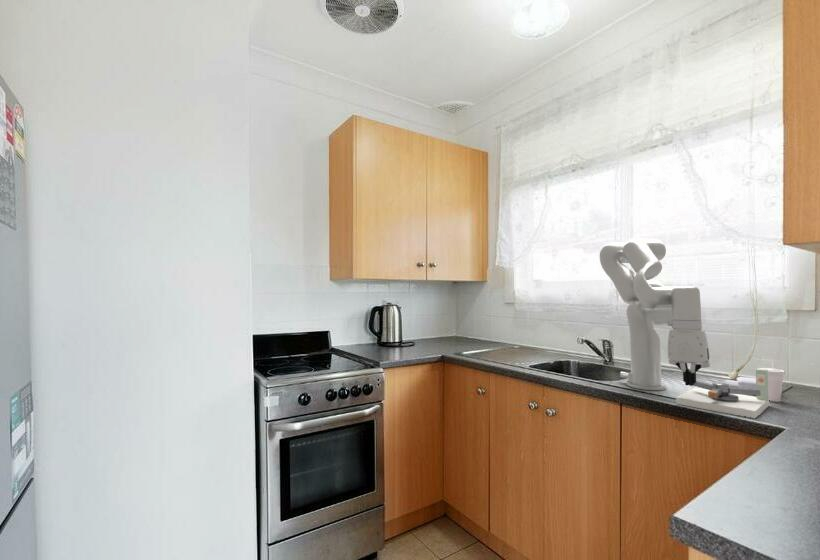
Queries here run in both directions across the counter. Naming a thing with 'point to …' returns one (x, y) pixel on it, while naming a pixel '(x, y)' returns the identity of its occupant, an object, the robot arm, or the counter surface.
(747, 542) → the counter surface
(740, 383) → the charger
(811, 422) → the counter surface
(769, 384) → the smoothie
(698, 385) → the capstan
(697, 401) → the stand
